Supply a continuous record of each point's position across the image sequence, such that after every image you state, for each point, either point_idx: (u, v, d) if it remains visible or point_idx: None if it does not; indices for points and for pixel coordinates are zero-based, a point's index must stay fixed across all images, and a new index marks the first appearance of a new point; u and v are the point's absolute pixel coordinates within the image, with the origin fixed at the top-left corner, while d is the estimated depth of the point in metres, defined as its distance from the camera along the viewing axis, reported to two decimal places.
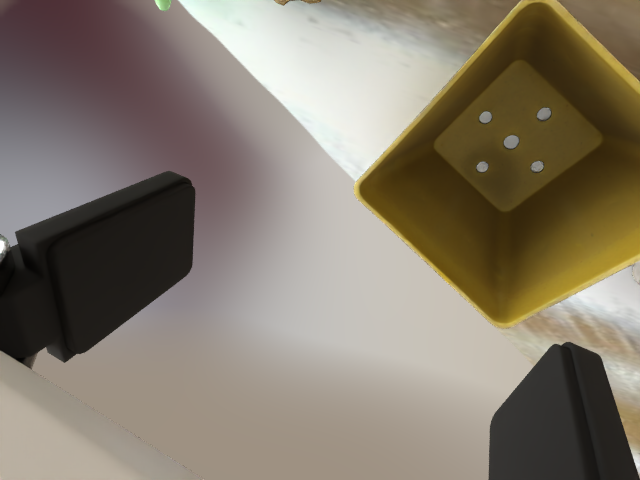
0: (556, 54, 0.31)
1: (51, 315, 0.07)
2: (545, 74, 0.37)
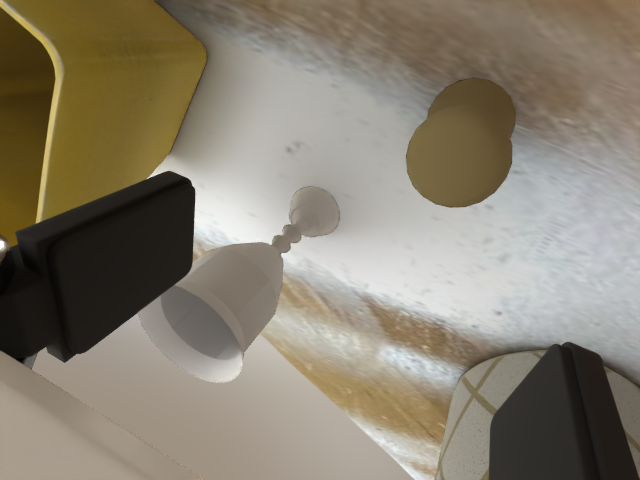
0: None
1: (51, 315, 0.07)
2: None
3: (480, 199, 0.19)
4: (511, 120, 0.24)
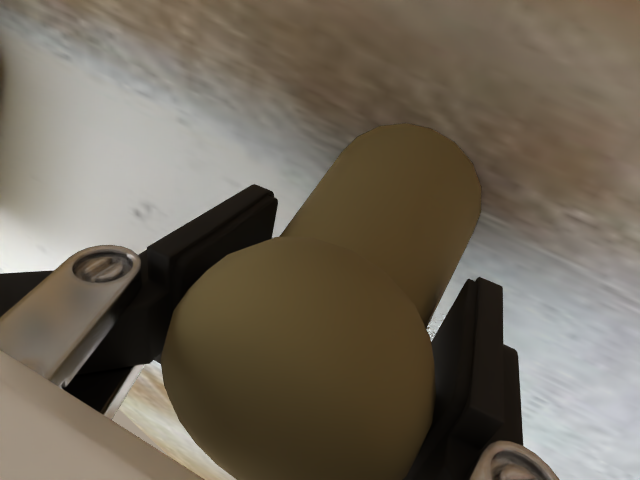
0: None
1: (167, 324, 0.08)
2: None
3: None
4: (468, 216, 0.12)
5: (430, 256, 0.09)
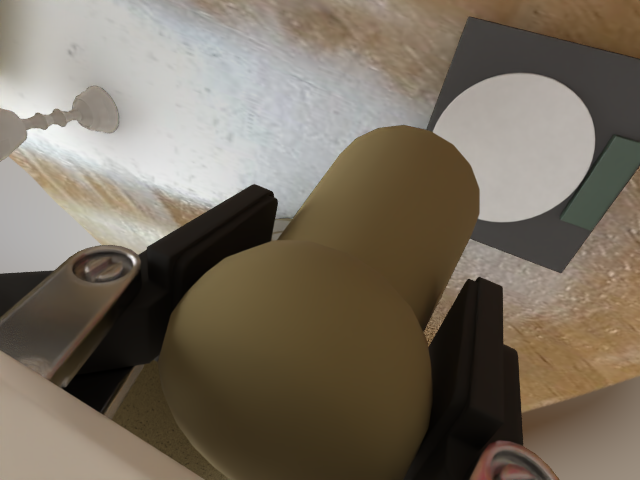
0: None
1: (167, 324, 0.08)
2: None
3: None
4: (467, 218, 0.12)
5: (428, 259, 0.09)
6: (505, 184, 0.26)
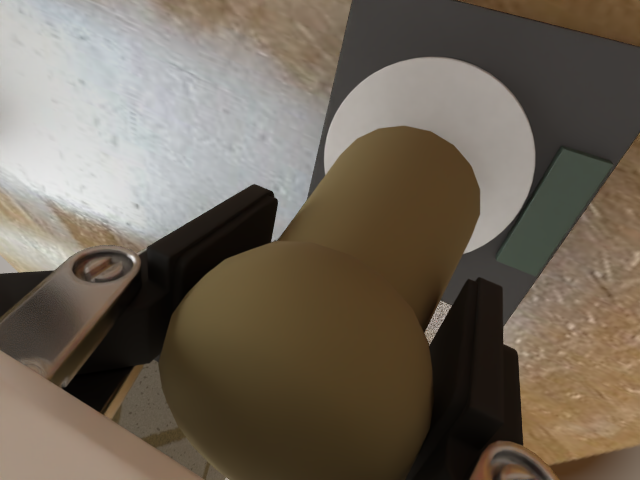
0: None
1: (167, 324, 0.08)
2: None
3: None
4: (467, 219, 0.12)
5: (429, 260, 0.09)
6: None
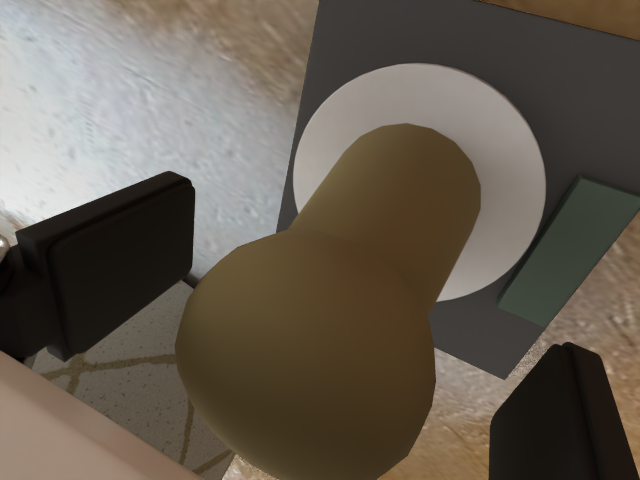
0: None
1: (51, 315, 0.07)
2: None
3: None
4: (468, 213, 0.12)
5: (430, 250, 0.09)
6: None
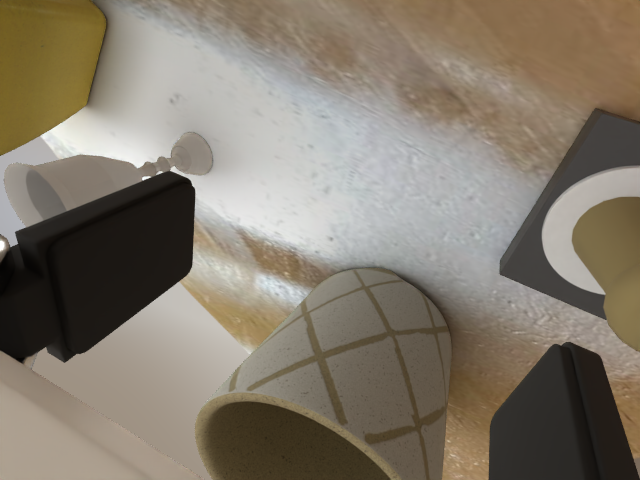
0: None
1: (51, 315, 0.07)
2: None
3: None
4: None
5: None
6: None
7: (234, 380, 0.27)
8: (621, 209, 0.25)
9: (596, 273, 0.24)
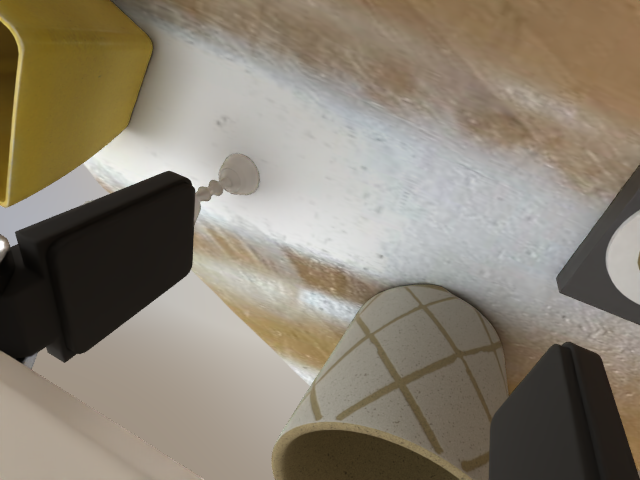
0: None
1: (51, 315, 0.07)
2: None
3: None
4: None
5: None
6: None
7: (316, 407, 0.28)
8: None
9: None
